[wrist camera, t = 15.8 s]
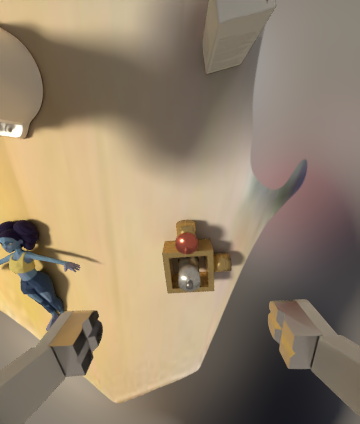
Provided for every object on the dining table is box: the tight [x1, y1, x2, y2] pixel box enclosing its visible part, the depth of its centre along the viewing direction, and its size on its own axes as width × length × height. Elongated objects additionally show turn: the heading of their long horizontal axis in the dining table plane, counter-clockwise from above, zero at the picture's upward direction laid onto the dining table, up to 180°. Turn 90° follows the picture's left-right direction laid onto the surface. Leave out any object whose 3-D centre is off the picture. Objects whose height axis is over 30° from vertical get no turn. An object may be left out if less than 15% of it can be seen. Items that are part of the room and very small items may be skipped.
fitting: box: [162, 220, 231, 293], centre depth 37 cm, size 14×15×6 cm
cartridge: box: [178, 256, 201, 292], centre depth 37 cm, size 5×5×9 cm
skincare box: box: [202, 0, 276, 74], centre depth 22 cm, size 6×4×12 cm
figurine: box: [0, 220, 80, 331], centre depth 41 cm, size 22×26×5 cm
